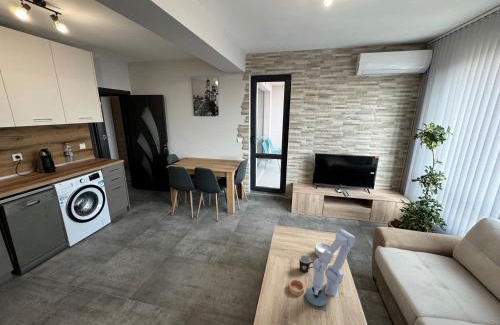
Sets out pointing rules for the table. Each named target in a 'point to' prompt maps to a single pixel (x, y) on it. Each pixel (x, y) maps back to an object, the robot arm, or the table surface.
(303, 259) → the coffee mug
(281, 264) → the table surface
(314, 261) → the robot arm
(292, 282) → the bowl
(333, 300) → the table surface
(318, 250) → the paper bowls
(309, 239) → the table surface
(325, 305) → the mat
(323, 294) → the lid
